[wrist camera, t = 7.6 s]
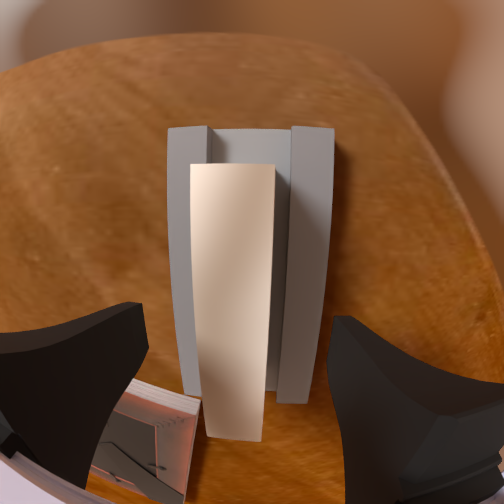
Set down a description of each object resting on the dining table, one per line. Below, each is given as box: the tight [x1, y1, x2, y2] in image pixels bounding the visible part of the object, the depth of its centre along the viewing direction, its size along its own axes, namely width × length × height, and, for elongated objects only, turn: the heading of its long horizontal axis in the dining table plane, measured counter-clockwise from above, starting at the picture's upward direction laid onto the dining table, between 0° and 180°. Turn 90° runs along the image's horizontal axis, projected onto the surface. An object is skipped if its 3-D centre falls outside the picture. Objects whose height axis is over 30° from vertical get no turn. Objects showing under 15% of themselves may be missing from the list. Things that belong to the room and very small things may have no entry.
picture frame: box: [89, 378, 201, 504], centre depth 22 cm, size 16×2×22 cm
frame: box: [190, 163, 276, 442], centre depth 13 cm, size 3×12×6 cm, turn 179°
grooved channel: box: [167, 126, 334, 404], centre depth 15 cm, size 8×16×2 cm, turn 179°
